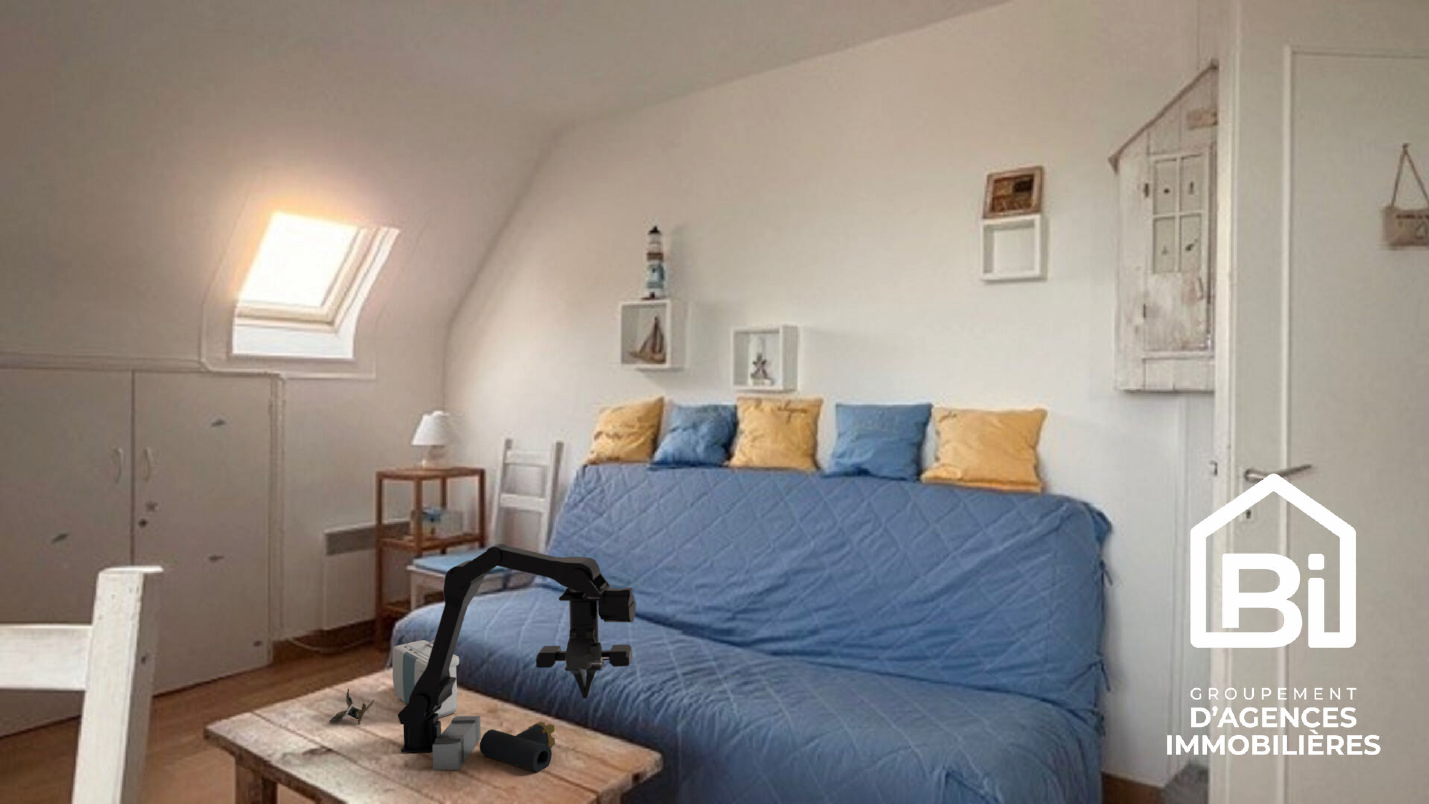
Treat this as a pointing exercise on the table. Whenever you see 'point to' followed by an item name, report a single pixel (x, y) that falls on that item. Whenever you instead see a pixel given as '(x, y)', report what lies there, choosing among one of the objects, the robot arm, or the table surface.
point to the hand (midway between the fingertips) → (585, 698)
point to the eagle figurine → (352, 710)
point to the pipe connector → (521, 746)
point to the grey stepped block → (456, 743)
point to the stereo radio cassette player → (418, 672)
